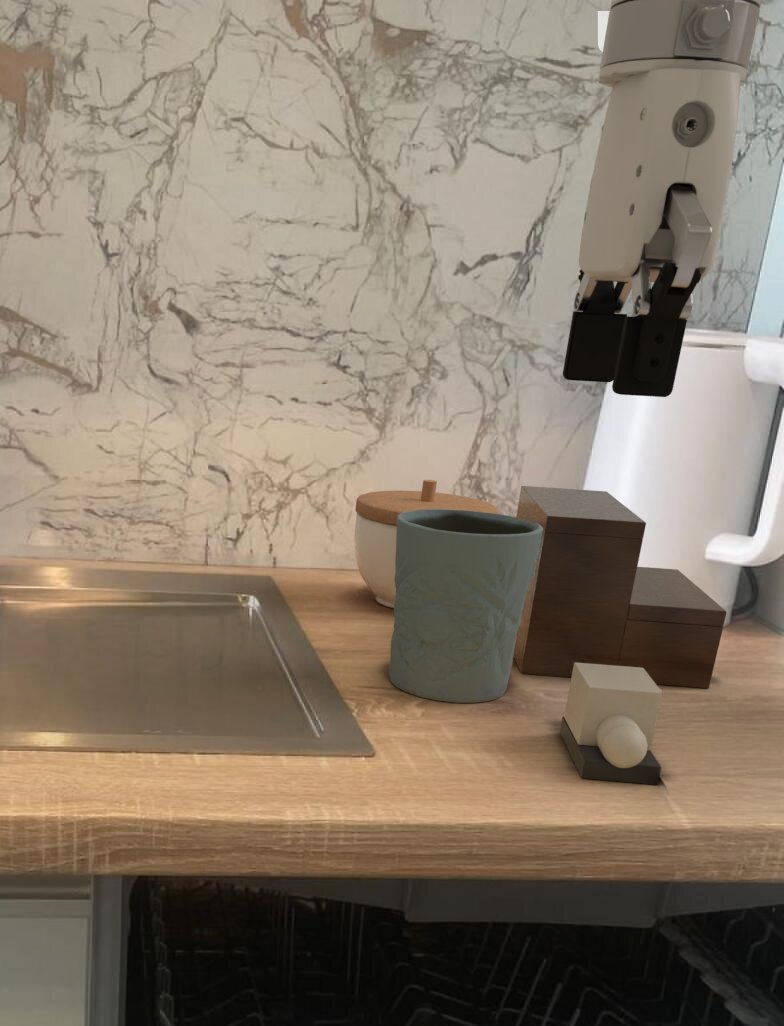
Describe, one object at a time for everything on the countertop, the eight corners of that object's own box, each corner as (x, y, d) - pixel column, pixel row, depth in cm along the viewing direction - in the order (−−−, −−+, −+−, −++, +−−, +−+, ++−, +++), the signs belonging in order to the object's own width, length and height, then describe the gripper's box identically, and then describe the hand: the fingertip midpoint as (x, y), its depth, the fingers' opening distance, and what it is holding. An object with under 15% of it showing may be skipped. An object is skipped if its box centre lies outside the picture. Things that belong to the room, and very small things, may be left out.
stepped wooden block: (663, 638, 103) (693, 497, 98) (709, 688, 90) (746, 529, 85) (498, 625, 104) (521, 485, 99) (520, 673, 91) (547, 515, 87)
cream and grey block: (559, 732, 79) (572, 661, 77) (628, 738, 79) (643, 666, 77) (583, 783, 71) (599, 704, 69) (660, 790, 71) (678, 711, 69)
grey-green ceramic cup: (406, 707, 83) (429, 534, 78) (359, 663, 92) (376, 505, 87) (540, 704, 85) (570, 535, 80) (481, 661, 94) (505, 507, 89)
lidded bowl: (508, 619, 106) (528, 493, 102) (376, 621, 103) (391, 492, 99) (448, 585, 117) (464, 470, 113) (327, 586, 114) (338, 468, 110)
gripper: (822, 24, 56) (735, 406, 63) (684, 79, 72) (627, 379, 79) (664, 15, 56) (594, 398, 63) (560, 72, 72) (514, 373, 79)
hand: (612, 387), depth 71 cm, fingers open, 9 cm apart
